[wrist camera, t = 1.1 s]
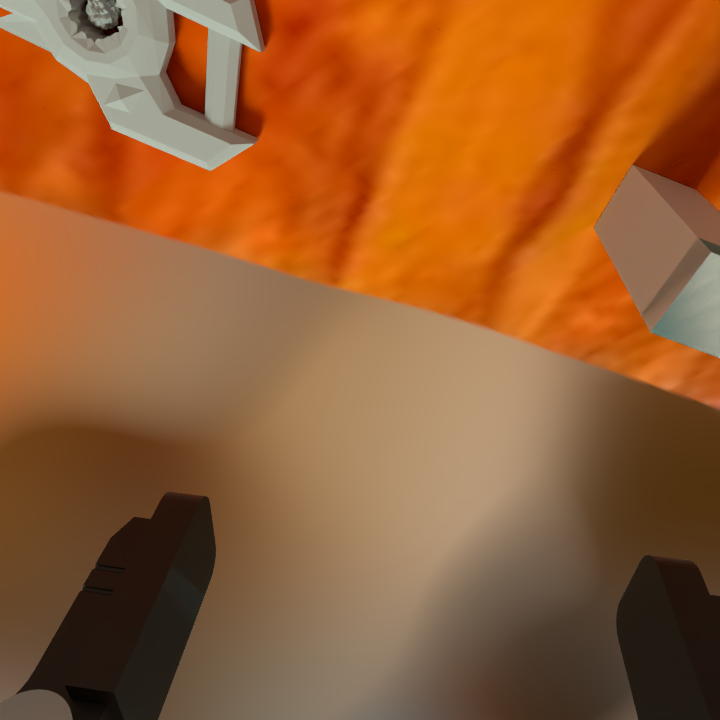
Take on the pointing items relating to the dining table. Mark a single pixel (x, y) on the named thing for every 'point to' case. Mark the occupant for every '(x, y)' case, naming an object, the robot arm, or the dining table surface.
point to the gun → (149, 66)
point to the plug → (667, 256)
